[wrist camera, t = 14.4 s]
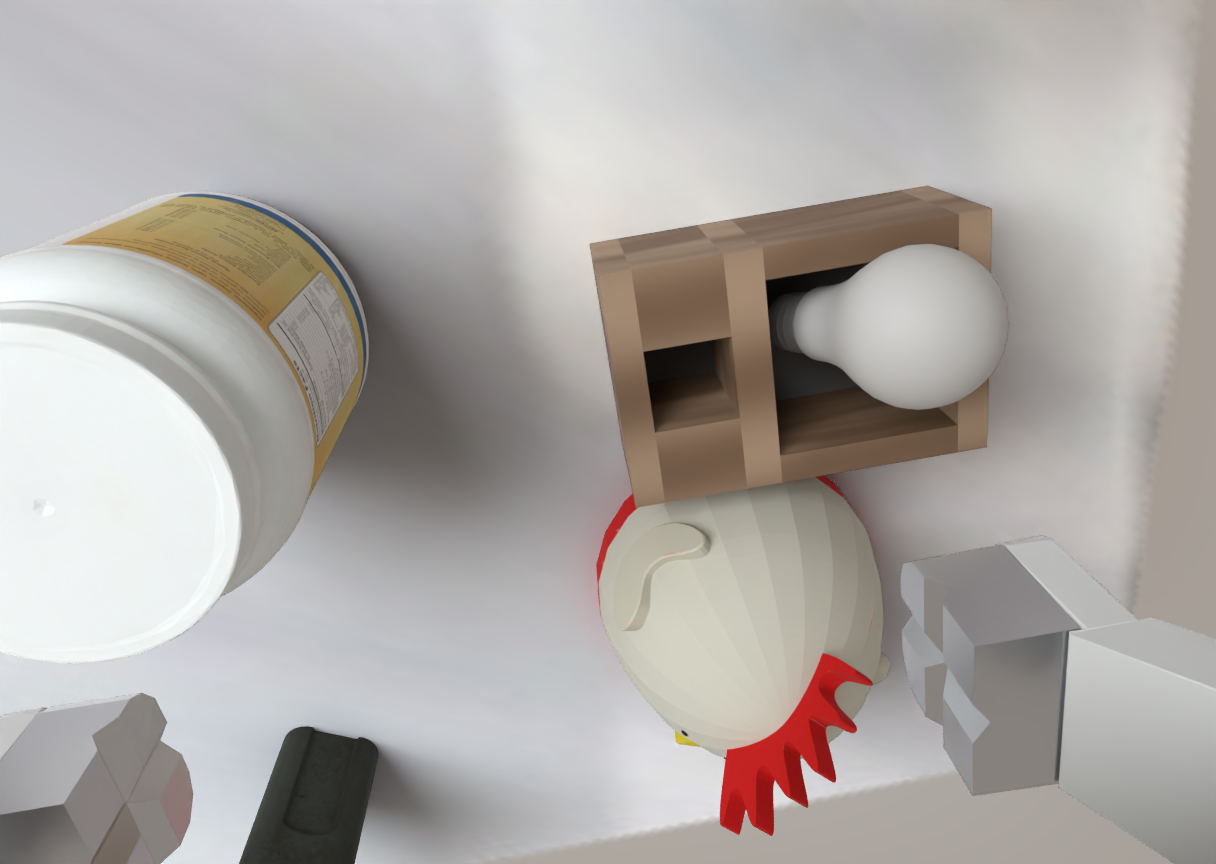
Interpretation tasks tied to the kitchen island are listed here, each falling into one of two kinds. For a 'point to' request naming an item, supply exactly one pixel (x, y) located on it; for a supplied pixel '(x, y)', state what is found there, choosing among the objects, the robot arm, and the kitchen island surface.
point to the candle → (313, 801)
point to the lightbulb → (902, 326)
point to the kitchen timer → (748, 628)
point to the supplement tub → (162, 416)
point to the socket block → (764, 347)
